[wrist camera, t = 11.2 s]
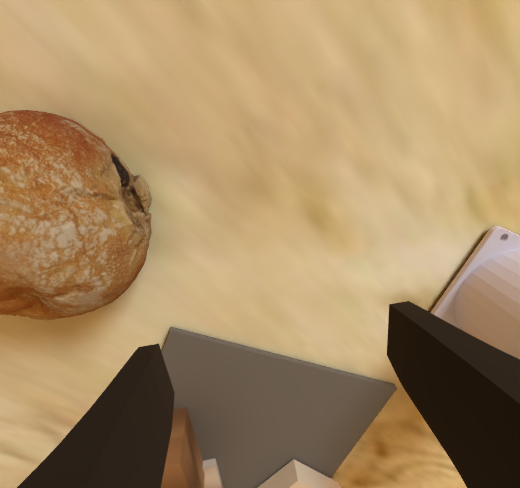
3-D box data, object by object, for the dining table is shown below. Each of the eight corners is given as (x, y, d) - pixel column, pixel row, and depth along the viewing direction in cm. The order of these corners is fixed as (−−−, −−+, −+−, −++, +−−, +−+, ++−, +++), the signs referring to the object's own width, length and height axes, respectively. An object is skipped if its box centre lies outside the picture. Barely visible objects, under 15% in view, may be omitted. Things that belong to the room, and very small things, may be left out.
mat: (394, 384, 26) (396, 388, 25) (281, 539, 33) (281, 544, 32) (171, 327, 21) (170, 330, 21) (97, 520, 28) (95, 525, 28)
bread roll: (173, 231, 22) (211, 248, 15) (40, 337, 20) (12, 417, 13) (65, 98, 19) (50, 40, 12) (-121, 206, 16) (-292, 217, 9)
